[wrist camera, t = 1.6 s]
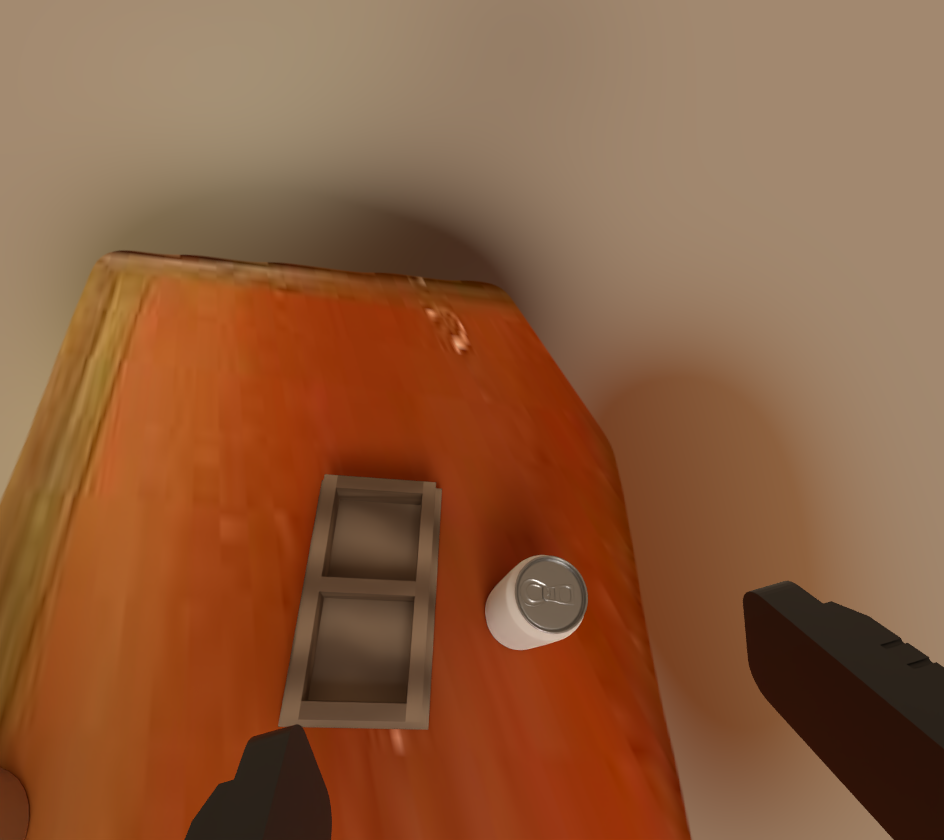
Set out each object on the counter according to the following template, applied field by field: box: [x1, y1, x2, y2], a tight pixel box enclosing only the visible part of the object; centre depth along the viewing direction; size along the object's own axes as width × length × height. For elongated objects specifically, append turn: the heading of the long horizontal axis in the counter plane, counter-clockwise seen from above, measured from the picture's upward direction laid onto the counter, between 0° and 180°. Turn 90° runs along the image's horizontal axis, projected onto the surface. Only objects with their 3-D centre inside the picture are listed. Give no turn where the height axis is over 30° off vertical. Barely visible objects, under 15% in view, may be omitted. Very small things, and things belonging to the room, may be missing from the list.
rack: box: [278, 474, 442, 730], centre depth 45 cm, size 21×12×5 cm, turn 179°
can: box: [485, 555, 588, 650], centre depth 43 cm, size 6×6×12 cm
